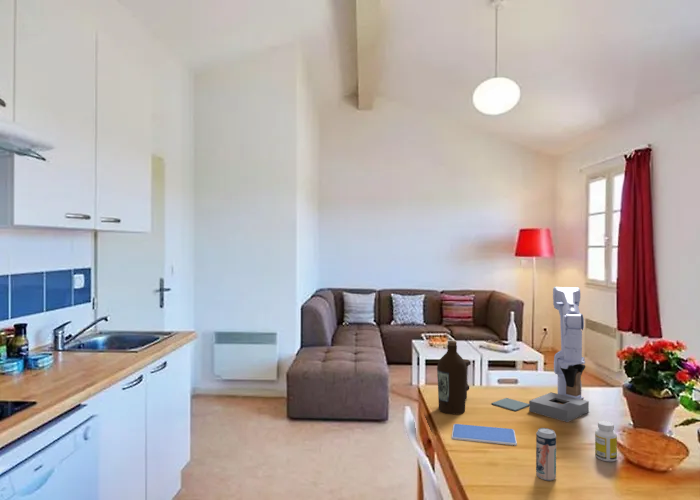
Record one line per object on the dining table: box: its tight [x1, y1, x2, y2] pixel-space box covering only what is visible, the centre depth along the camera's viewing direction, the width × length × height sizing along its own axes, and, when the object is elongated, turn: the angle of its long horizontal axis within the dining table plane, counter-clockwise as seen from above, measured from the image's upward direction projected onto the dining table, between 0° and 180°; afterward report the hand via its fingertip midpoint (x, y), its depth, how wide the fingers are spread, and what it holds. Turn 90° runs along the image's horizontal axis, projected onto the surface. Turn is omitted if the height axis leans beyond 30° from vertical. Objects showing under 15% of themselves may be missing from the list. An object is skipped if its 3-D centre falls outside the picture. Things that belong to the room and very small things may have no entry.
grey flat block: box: [528, 391, 590, 423], centre depth 173 cm, size 16×14×4 cm
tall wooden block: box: [566, 371, 582, 396], centre depth 171 cm, size 4×4×8 cm
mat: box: [491, 397, 529, 412], centre depth 180 cm, size 10×10×1 cm
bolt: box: [462, 358, 472, 400], centre depth 187 cm, size 6×5×15 cm
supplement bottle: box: [594, 420, 618, 462], centre depth 134 cm, size 5×5×10 cm
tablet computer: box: [450, 423, 518, 446], centre depth 151 cm, size 19×13×1 cm, turn 75°
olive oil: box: [436, 340, 468, 415], centre depth 174 cm, size 11×11×25 cm
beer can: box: [535, 427, 557, 481], centre depth 123 cm, size 5×5×12 cm
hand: (572, 385), depth 171 cm, fingers closed on tall wooden block, 4 cm apart
